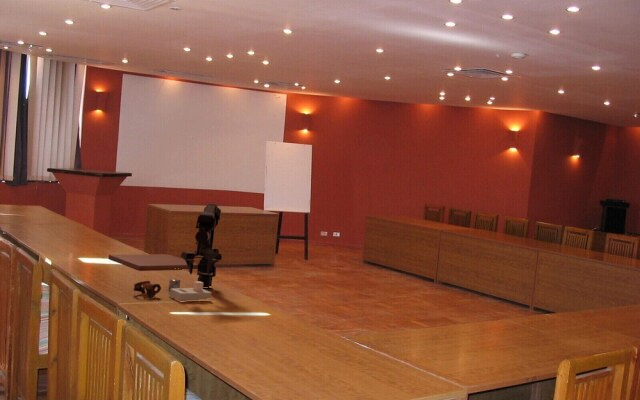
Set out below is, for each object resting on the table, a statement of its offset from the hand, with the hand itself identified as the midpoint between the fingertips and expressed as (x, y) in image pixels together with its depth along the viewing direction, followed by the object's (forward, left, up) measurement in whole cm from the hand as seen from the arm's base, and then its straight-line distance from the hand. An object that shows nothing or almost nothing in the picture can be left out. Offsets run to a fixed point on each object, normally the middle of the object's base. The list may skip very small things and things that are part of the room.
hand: (199, 274), depth 323 cm
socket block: (+3, 0, -12) cm, 12 cm away
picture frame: (-21, -85, -13) cm, 88 cm away
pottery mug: (+21, -8, -12) cm, 26 cm away
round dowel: (+4, -14, -12) cm, 19 cm away
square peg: (0, 0, -12) cm, 12 cm away
